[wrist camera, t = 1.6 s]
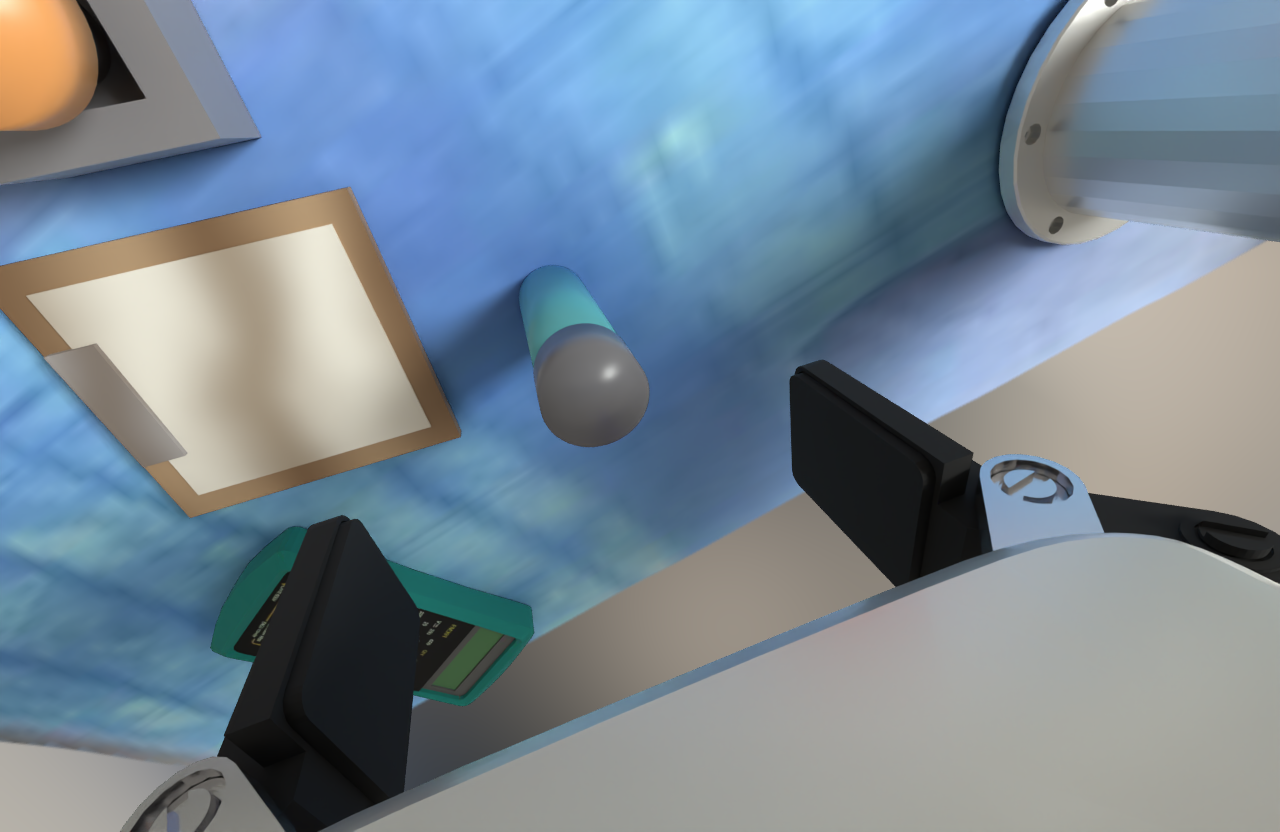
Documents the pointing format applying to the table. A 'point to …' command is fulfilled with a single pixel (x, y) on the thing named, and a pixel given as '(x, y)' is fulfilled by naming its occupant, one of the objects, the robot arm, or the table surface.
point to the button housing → (138, 98)
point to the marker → (579, 361)
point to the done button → (48, 62)
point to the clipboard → (238, 348)
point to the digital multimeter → (448, 637)
